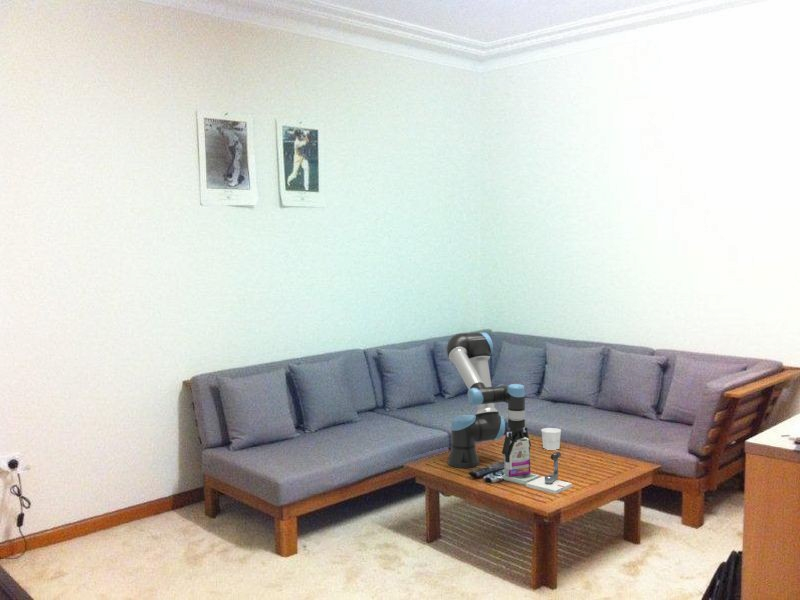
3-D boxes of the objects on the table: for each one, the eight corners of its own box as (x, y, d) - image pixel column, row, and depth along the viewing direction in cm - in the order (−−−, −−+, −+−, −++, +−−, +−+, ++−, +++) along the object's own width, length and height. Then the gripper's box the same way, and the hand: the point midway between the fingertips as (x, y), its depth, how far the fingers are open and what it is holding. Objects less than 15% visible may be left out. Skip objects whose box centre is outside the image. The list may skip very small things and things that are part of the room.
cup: (537, 447, 380) (537, 429, 379) (553, 445, 384) (553, 427, 383) (549, 452, 371) (549, 433, 370) (565, 449, 375) (565, 431, 374)
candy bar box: (524, 471, 333) (524, 436, 332) (530, 474, 328) (530, 438, 327) (503, 474, 329) (503, 438, 328) (508, 477, 324) (508, 441, 323)
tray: (494, 477, 331) (494, 473, 330) (508, 472, 338) (508, 468, 338) (525, 485, 319) (525, 481, 319) (539, 479, 326) (539, 475, 326)
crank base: (526, 486, 317) (526, 482, 317) (542, 479, 326) (542, 475, 326) (555, 494, 307) (555, 490, 307) (571, 486, 316) (571, 482, 316)
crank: (550, 484, 314) (550, 458, 313) (543, 482, 316) (543, 457, 315) (562, 477, 323) (562, 452, 322) (554, 476, 325) (554, 451, 324)
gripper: (524, 413, 338) (525, 458, 339) (493, 422, 321) (494, 470, 322) (538, 415, 333) (538, 461, 334) (507, 424, 316) (507, 473, 317)
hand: (516, 466), depth 328 cm, fingers closed on candy bar box, 12 cm apart
